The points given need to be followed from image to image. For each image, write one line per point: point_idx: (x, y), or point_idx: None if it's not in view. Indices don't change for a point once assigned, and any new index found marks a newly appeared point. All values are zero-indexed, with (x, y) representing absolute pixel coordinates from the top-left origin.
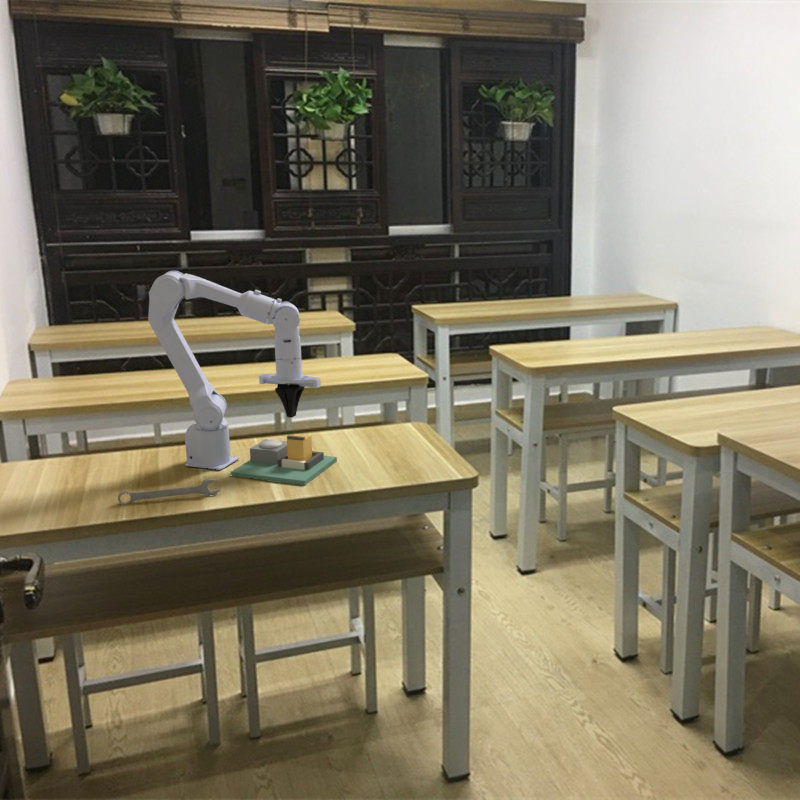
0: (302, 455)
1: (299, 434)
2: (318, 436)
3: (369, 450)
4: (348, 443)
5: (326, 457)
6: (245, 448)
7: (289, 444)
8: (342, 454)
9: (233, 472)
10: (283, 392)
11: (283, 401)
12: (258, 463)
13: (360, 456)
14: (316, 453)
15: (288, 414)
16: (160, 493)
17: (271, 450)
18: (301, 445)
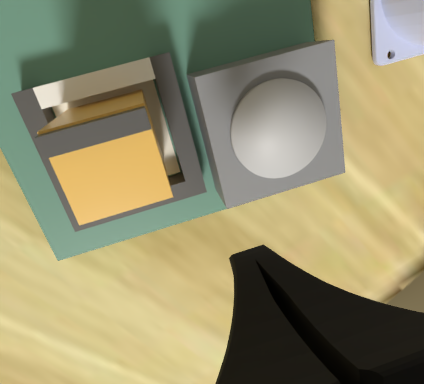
0: (64, 115)
1: (145, 201)
2: None
3: (57, 373)
4: (161, 372)
5: (85, 236)
6: (413, 165)
7: (128, 102)
8: (100, 304)
9: None
10: (350, 353)
11: (320, 293)
12: (260, 35)
13: (34, 325)
14: None
15: (255, 255)
16: None
17: (227, 73)
18: (55, 123)
